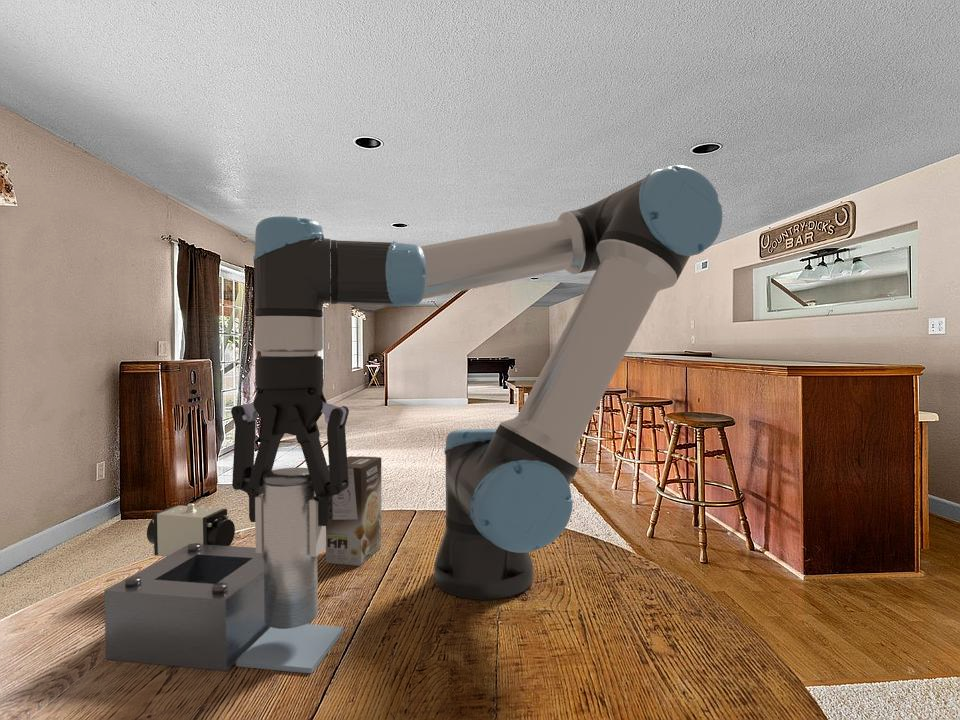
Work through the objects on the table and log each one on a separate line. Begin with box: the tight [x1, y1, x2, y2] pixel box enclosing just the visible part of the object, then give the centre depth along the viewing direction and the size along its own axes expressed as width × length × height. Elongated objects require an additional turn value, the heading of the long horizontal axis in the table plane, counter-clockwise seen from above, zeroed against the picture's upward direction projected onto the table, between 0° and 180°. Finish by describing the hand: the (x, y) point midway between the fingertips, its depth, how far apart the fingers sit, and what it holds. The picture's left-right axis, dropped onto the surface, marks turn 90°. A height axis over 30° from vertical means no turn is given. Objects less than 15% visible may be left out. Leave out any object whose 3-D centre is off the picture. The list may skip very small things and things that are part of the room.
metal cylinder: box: [263, 467, 319, 629], centre depth 67 cm, size 6×6×17 cm
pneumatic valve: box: [146, 502, 236, 557], centre depth 85 cm, size 6×12×12 cm, turn 78°
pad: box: [235, 623, 345, 675], centre depth 67 cm, size 9×9×1 cm
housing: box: [103, 543, 270, 672], centre depth 71 cm, size 15×15×9 cm
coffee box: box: [325, 455, 383, 567], centre depth 96 cm, size 9×6×16 cm
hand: (291, 550), depth 67 cm, fingers closed on metal cylinder, 6 cm apart
